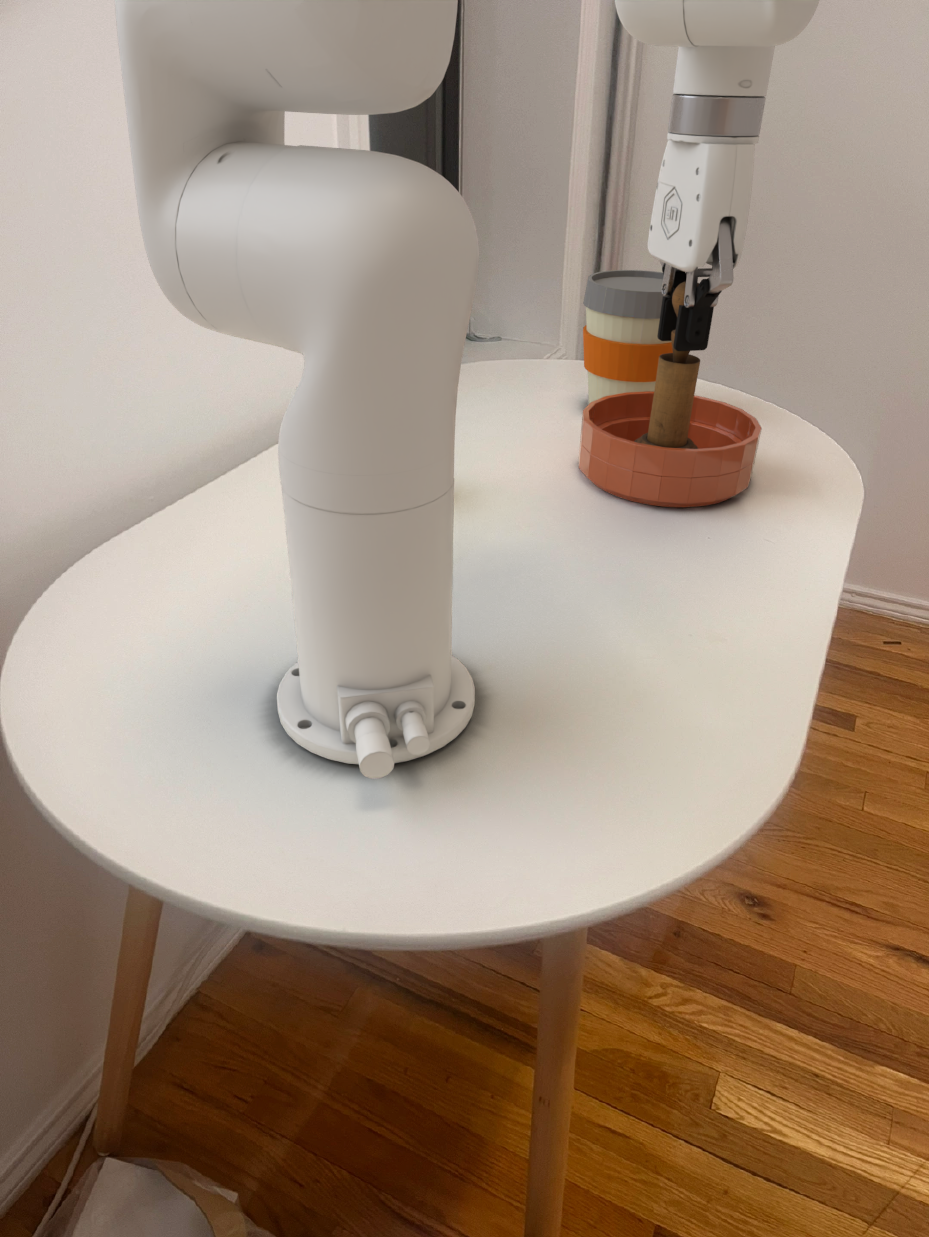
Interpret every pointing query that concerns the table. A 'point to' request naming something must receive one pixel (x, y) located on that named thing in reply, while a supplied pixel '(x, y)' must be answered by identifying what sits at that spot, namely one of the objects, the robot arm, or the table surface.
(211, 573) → the table surface
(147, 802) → the table surface
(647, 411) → the bowl
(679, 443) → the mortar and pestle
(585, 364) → the reusable coffee cup
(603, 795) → the table surface
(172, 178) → the robot arm
